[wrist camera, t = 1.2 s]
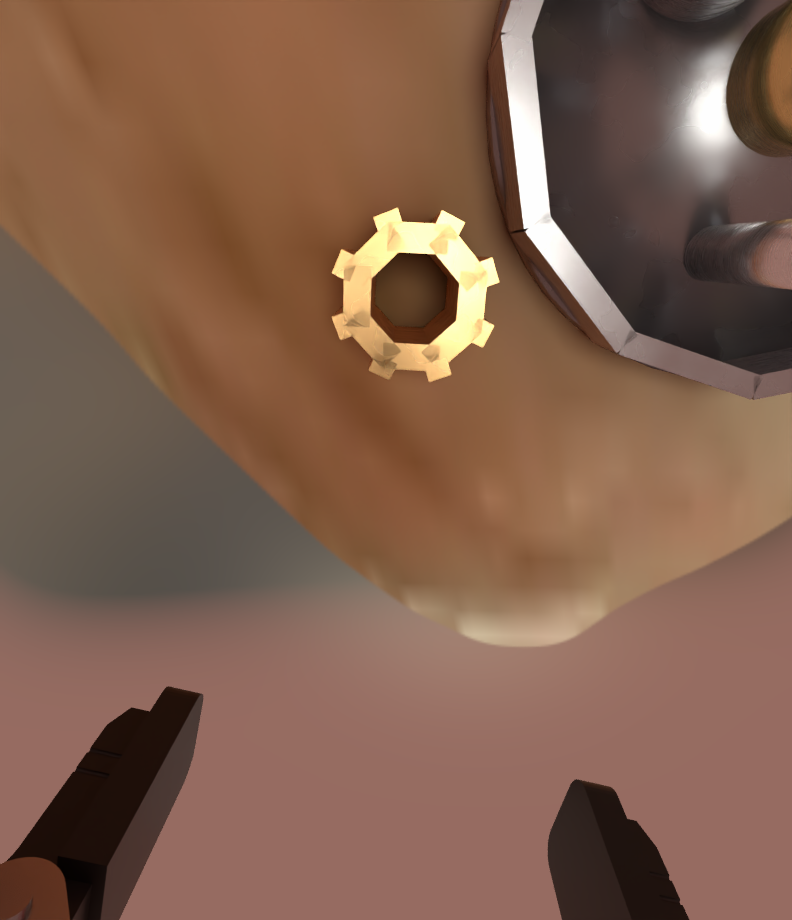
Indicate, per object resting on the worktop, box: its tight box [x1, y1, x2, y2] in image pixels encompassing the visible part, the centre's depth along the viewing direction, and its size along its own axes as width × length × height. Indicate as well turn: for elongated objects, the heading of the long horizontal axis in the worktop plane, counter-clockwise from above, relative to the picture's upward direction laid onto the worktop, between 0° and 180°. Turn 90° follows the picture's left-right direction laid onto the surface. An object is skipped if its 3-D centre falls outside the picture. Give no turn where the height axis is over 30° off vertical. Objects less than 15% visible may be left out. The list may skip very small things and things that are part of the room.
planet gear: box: [332, 208, 499, 382], centre depth 22 cm, size 6×6×5 cm
